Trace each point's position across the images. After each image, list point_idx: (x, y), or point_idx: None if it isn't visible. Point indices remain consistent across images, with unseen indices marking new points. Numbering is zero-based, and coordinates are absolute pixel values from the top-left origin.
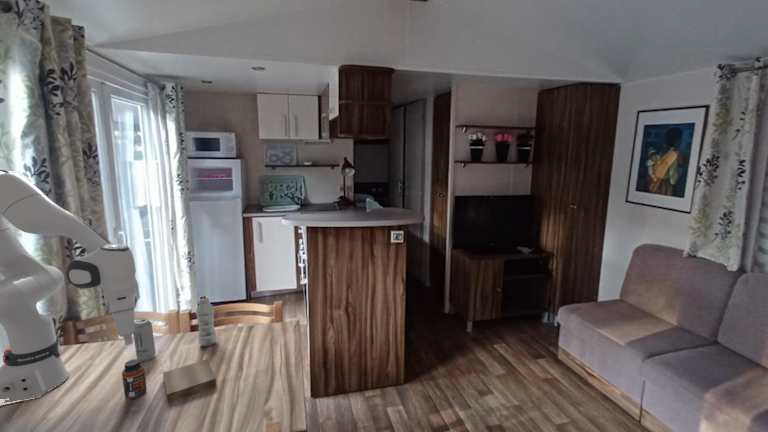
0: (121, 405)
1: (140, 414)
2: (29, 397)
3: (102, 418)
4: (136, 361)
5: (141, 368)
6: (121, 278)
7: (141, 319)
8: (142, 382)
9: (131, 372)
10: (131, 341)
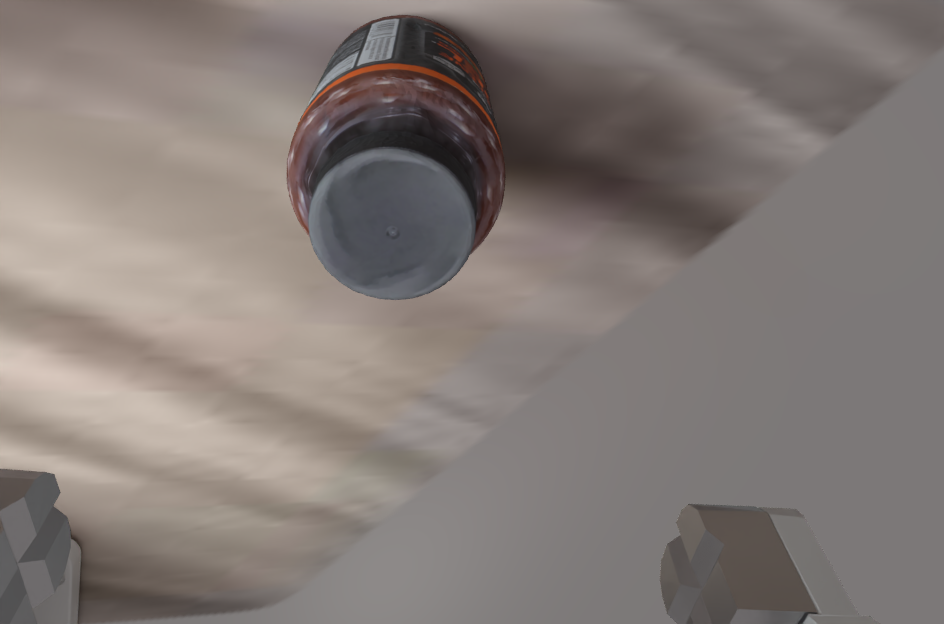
0: None
1: (717, 111)
2: (72, 582)
3: (556, 306)
4: (408, 185)
5: (454, 112)
6: None
7: None
8: (476, 78)
9: (483, 217)
10: (816, 553)
